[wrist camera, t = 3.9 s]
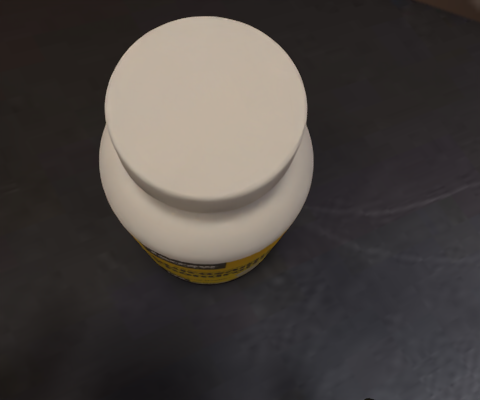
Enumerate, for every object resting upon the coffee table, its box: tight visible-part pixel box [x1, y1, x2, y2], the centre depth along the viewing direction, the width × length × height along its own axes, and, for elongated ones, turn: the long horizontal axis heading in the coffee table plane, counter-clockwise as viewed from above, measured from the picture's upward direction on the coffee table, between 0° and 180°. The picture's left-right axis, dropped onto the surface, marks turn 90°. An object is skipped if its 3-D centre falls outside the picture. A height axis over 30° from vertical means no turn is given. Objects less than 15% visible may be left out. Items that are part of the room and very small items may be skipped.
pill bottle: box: [99, 17, 313, 284], centre depth 16 cm, size 6×6×12 cm
